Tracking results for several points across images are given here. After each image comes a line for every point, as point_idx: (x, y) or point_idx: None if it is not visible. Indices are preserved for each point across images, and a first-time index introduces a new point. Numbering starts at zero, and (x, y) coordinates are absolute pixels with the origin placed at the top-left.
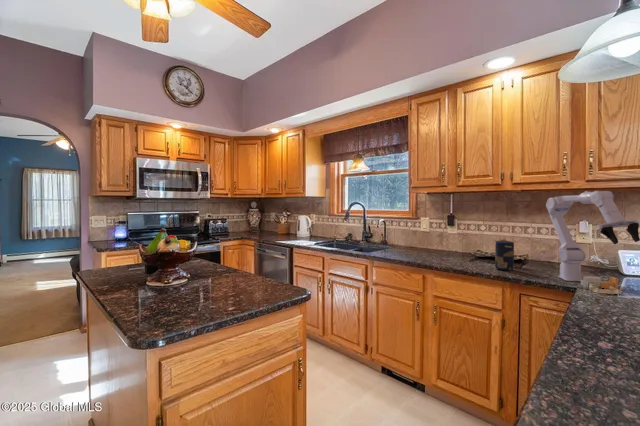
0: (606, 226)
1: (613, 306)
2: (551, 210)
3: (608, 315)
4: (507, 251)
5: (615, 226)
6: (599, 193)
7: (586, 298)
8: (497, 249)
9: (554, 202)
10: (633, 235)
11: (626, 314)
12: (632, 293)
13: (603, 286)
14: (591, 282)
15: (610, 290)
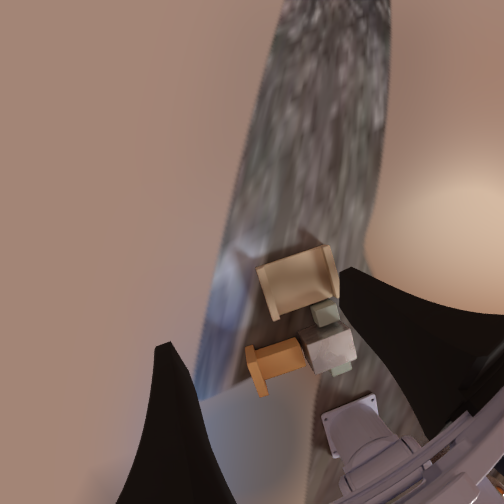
0: (484, 421)
1: (304, 101)
2: None
3: (325, 25)
4: None
5: (400, 471)
6: None
7: (361, 161)
8: None
9: None
10: (194, 417)
11: (287, 44)
12: (209, 321)
13: (289, 342)
14: (332, 328)
15: (277, 300)
